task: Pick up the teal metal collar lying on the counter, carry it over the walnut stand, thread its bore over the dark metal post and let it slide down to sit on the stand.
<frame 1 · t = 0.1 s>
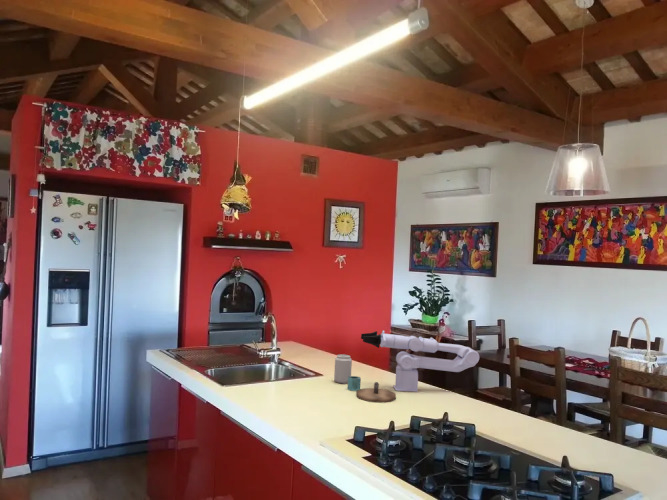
hand: (362, 337, 232), 22 cm above the counter, tool horizontal, fingers open, 7 cm apart
can: (342, 382, 240), on the counter
collar: (353, 389, 228), on the counter
stand: (375, 396, 218), on the counter
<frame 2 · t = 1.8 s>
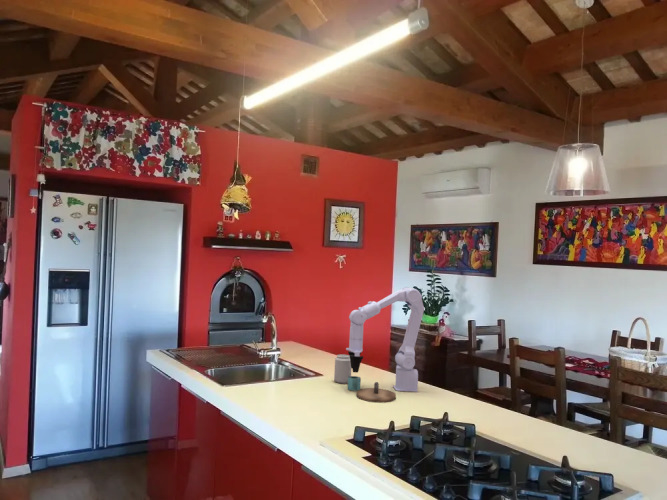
hand: (354, 370, 228), 8 cm above the counter, tool pointing down, fingers open, 7 cm apart
nothing on the counter moved.
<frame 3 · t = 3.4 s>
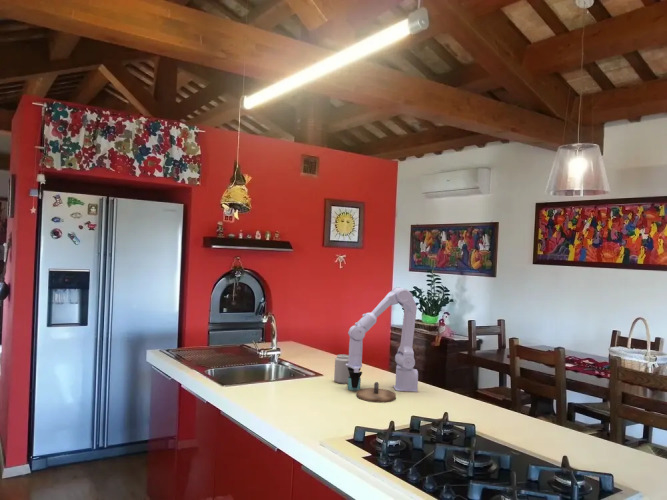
hand: (353, 385, 228), 1 cm above the counter, tool pointing down, fingers closed on collar, 5 cm apart
collar: (353, 389, 228), on the counter, touching gripper
everything else where it was.
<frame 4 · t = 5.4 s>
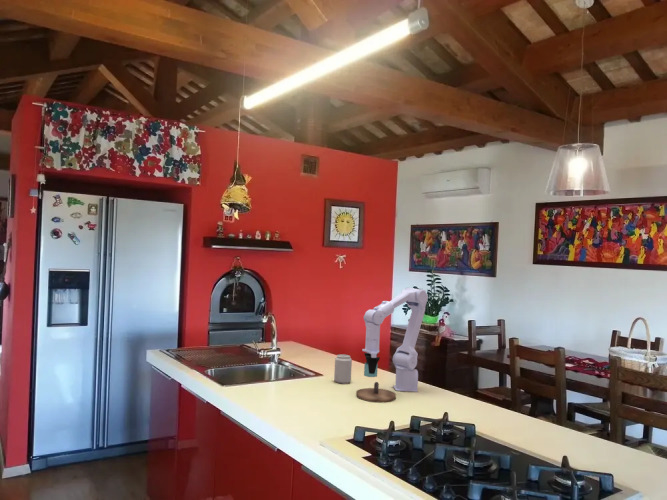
hand: (371, 372, 221), 9 cm above the counter, tool pointing down, fingers closed on collar, 5 cm apart
collar: (370, 375, 221), point 8 cm above the counter, touching gripper
everything else where it was.
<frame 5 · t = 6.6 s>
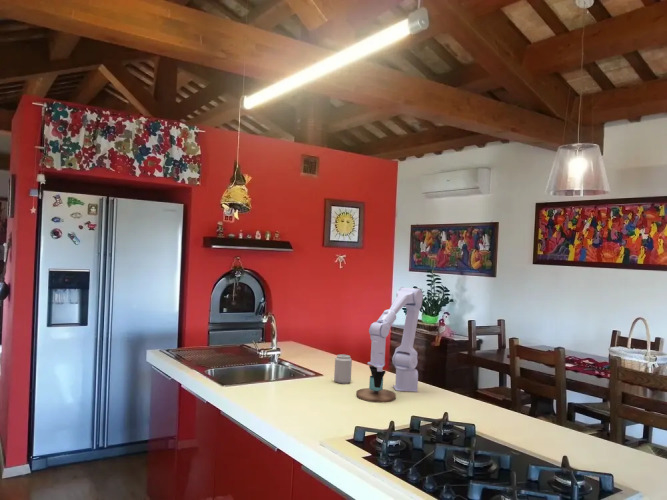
hand: (376, 385, 218), 5 cm above the counter, tool pointing down, fingers closed on collar, 5 cm apart
collar: (375, 389, 218), point 3 cm above the counter, touching gripper
everything else where it was.
when the fingers open (4 cm above the counter, at t = 7.7 s): collar stays where it is, resting on stand.
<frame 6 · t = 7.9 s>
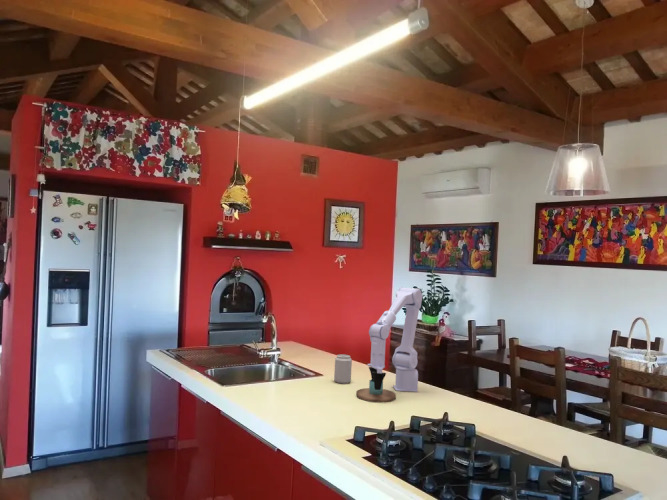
hand: (376, 387, 218), 4 cm above the counter, tool pointing down, fingers open, 7 cm apart
collar: (375, 393, 218), point 1 cm above the counter, touching stand
everything else where it was.
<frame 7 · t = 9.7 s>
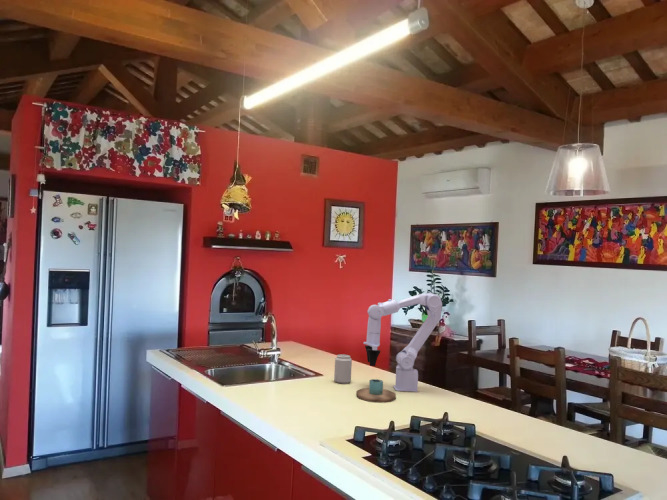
hand: (371, 364, 232), 10 cm above the counter, tool pointing down, fingers open, 7 cm apart
nothing on the counter moved.
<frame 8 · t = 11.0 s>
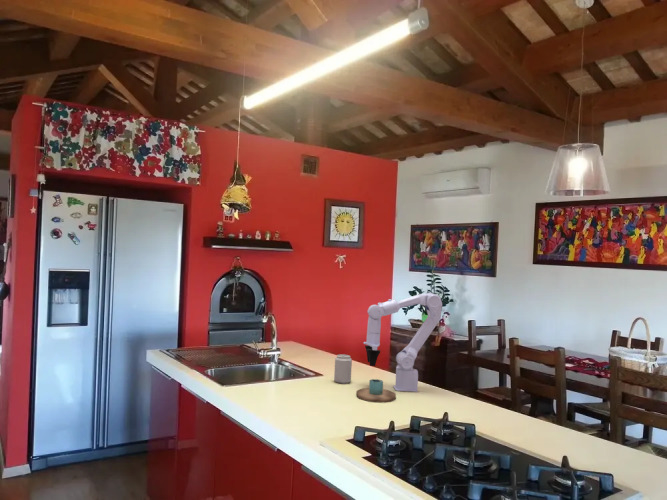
hand: (371, 364, 232), 10 cm above the counter, tool pointing down, fingers open, 7 cm apart
nothing on the counter moved.
at the end: collar 0.1 cm off-centre on the stand, point 1.5 cm above the stand's base; collar tilted 0°; the gripper is holding nothing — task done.
